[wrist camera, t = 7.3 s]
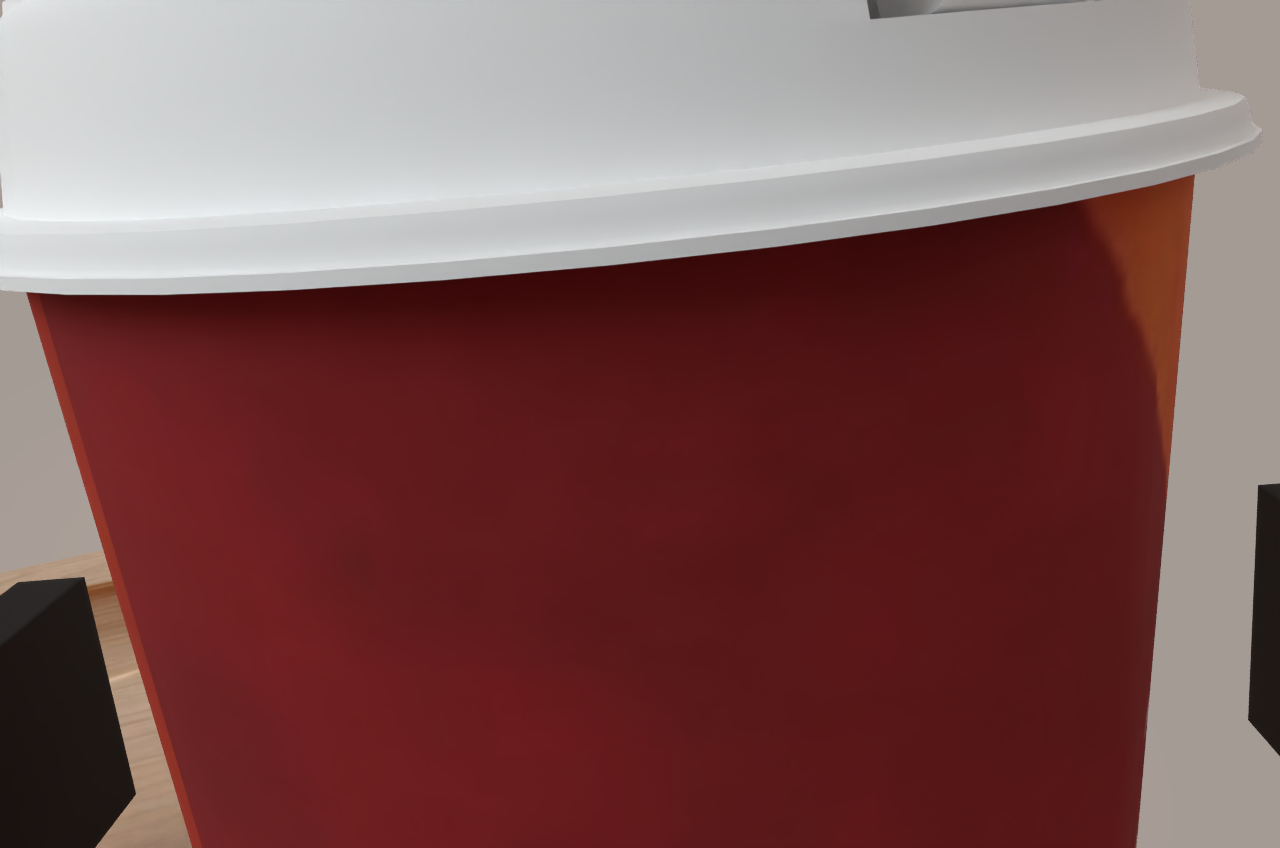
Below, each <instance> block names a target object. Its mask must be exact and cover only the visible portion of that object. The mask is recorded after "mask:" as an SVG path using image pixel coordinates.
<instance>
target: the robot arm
mask: <svg viewBox="0 0 1280 848" xmlns="http://www.w3.org/2000/svg"><path fill="white" fill-rule="evenodd" d="M1254 573H1255V574H1254V596H1253V621H1252V643H1251V666H1250V667H1251V669H1250V690H1249V691H1250V692H1249V715H1248V720H1249V721H1250V723H1252V725H1253V726H1254V727H1255V728H1256V729H1257V731H1258V732H1259V733H1260V734H1261V735H1262V736H1263V737H1264V739H1266V741H1267V742H1268V743H1269V744H1270V745H1271V746H1272V748H1273V749H1274V750H1275V751H1276V752H1277V753H1278V755H1280V484H1267V485H1258V502H1257V526H1256V549H1255V572H1254ZM135 795H136V792H135V788H134V784H133V779H132V775H131V771H130V767H129V763H128V758H127V754H126V750H125V746H124V742H123V737H122V733H121V729H120V725H119V721H118V716H117V712H116V708H115V704H114V700H113V695H112V691H111V687H110V683H109V679H108V674H107V670H106V666H105V662H104V658H103V654H102V649H101V645H100V641H99V637H98V633H97V628H96V624H95V620H94V616H93V612H92V607H91V603H90V599H89V595H88V591H87V586H86V582H85V578H84V577H79V578H67V579H54V580H41V581H28V582H18V583H16V584H15V585H14V586H12V587H11V588H10V589H8V590H7V591H6V592H5V593H3V594H2V595H1V596H0V848H95V847H96V846H97V844H98V843H99V842H100V840H101V839H102V838H103V837H104V835H105V834H106V833H107V831H108V830H109V829H110V827H111V826H112V825H113V824H114V822H115V821H116V820H117V818H118V817H119V816H120V814H121V813H122V812H123V810H124V809H125V808H126V807H127V805H128V804H129V803H130V801H131V800H132V799H133V797H134V796H135Z"/></svg>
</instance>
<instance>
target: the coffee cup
mask: <svg viewBox="0 0 1280 848" xmlns="http://www.w3.org/2000/svg"><path fill="white" fill-rule="evenodd" d="M2 11H3V16H1V18H0V177H1V189H2V200H3V208H0V290H3V291H18V292H26V293H27V296H28V299H29V303H30V306H31V309H32V313H33V316H34V319H35V323H36V326H37V330H38V333H39V336H40V340H41V343H42V346H43V350H44V353H45V356H46V360H47V363H48V366H49V370H50V373H51V376H52V379H53V383H54V386H55V390H56V393H57V396H58V400H59V403H60V406H61V410H62V413H63V416H64V420H65V423H66V426H67V430H68V433H69V436H70V440H71V443H72V446H73V450H74V453H75V456H76V460H77V463H78V466H79V469H80V473H81V476H82V480H83V483H84V486H85V490H86V493H87V496H88V500H89V503H90V506H91V510H92V513H93V516H94V520H95V523H96V526H97V530H98V533H99V537H100V540H101V543H102V547H103V550H104V553H105V557H106V560H107V563H108V567H109V570H110V573H111V577H112V580H113V583H114V587H115V590H116V593H117V597H118V600H119V603H120V607H121V610H122V613H123V617H124V620H125V623H126V627H127V630H128V633H129V637H130V640H131V643H132V647H133V650H134V654H135V657H136V660H137V664H138V667H139V670H140V674H141V677H142V680H143V684H144V687H145V690H146V694H147V697H148V700H149V704H150V707H151V710H152V714H153V717H154V720H155V724H156V727H157V730H158V734H159V737H160V740H161V744H162V747H163V750H164V754H165V757H166V760H167V764H168V767H169V770H170V774H171V777H172V780H173V784H174V787H175V791H176V794H177V797H178V801H179V804H180V807H181V811H182V814H183V817H184V821H185V824H186V827H187V831H188V834H189V837H190V841H191V844H192V848H1136V847H1137V835H1138V822H1139V812H1140V799H1141V789H1142V777H1143V765H1144V754H1145V753H1144V752H1145V741H1146V730H1147V718H1148V707H1149V695H1150V683H1151V672H1152V660H1153V649H1154V637H1155V626H1156V613H1157V603H1158V591H1159V579H1160V567H1161V557H1162V545H1163V533H1164V522H1165V511H1166V499H1167V488H1168V475H1169V465H1170V453H1171V441H1172V430H1173V419H1174V407H1175V395H1176V384H1177V372H1178V361H1179V349H1180V338H1181V326H1182V315H1183V303H1184V291H1185V280H1186V269H1187V257H1188V244H1189V233H1190V223H1191V210H1192V200H1193V187H1194V177H1195V174H1197V173H1201V172H1205V171H1208V170H1212V169H1215V168H1219V167H1221V166H1224V165H1226V164H1229V163H1231V162H1233V161H1236V160H1238V159H1240V158H1243V157H1245V156H1248V155H1250V154H1252V153H1253V152H1254V151H1255V150H1256V149H1257V148H1258V146H1259V145H1260V144H1261V142H1262V129H1261V128H1259V127H1258V126H1257V125H1255V124H1254V123H1252V117H1251V116H1252V114H1251V109H1250V107H1249V105H1248V102H1247V100H1246V97H1244V96H1242V95H1240V94H1238V93H1236V92H1231V91H1226V90H1220V89H1211V88H1202V87H1200V83H1199V74H1198V65H1197V57H1196V49H1195V40H1194V32H1193V23H1192V14H1191V6H1190V0H5V1H4V2H3V3H2Z"/></svg>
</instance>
